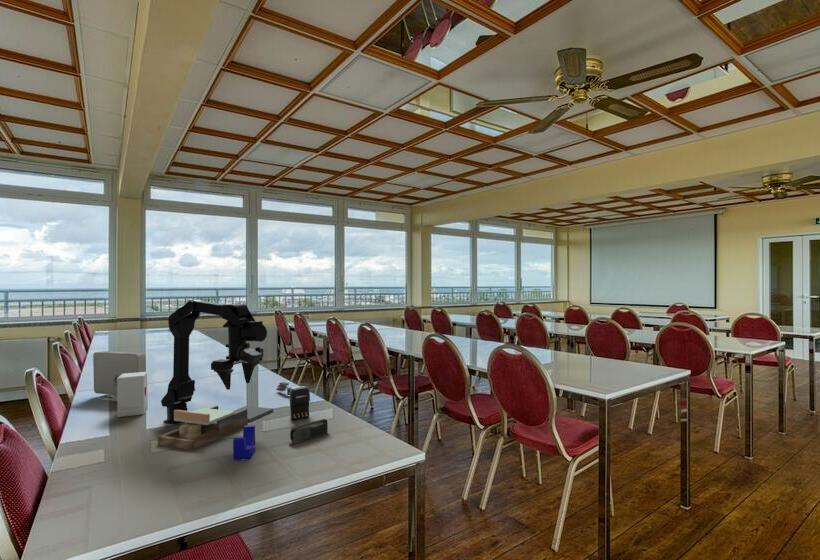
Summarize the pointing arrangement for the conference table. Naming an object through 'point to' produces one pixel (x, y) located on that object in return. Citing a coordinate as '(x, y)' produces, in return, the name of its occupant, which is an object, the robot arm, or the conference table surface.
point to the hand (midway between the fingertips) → (238, 386)
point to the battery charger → (299, 403)
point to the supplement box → (132, 394)
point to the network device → (114, 370)
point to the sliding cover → (201, 415)
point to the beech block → (190, 431)
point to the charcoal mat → (254, 412)
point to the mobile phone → (308, 431)
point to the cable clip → (244, 444)
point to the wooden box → (206, 431)
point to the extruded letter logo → (284, 387)
